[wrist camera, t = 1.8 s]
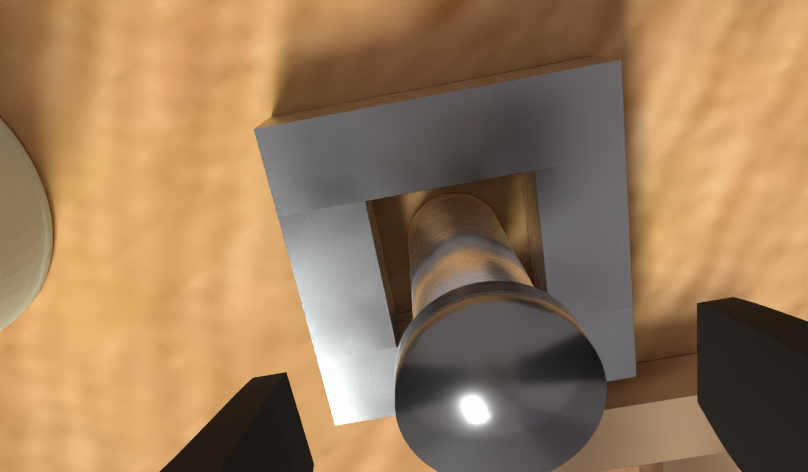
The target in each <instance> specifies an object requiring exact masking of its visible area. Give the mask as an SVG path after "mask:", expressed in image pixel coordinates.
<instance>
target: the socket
mask: <svg viewBox="0 0 808 472" xmlns="http://www.w3.org/2000/svg"><path fill="white" fill-rule="evenodd" d="M606 382H607V398H606V404H605V409H604V412H603V415H602V418H601V421H600V423H599V425H598V427H597V429H596V431H595V432H594V434H593V435H592V437H591V438H590V440H589V441H588V442H587V443H586V445H585V446H584V447H583V448H582V449H581V450H580V451H579V452H578V453H577V454H576V455H575V456H574V457H573V458H571V459H570V460H569V461H567V462H566V463H564V464H563V465H562V466H560V467H558V468H556V469H555V470H553V471H551V472H599V471H606V470H612V469H619V468H625V467H632V466H638V465H639V466H640V472H737V465H736V464H735V462H734V461H733V460H732V458H731V457H730V456H729V454H728V453H727V451H726V450H725V448H724V446H723V445H722V443H721V442H720V440H719V438H718V437H717V435H716V433H715V432H714V430H713V429H712V427H711V425H710V423H709V422H708V420H707V418H706V416H705V415H704V413H703V411H702V409H701V408H700V406H699V404H698V402H697V353H696V354H690V355H684V356H678V357H672V358H666V359H659V360H653V361H647V362H641V363H636V377H631V378H625V379H619V380H613V381H606Z"/></svg>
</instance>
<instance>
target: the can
mask: <svg viewBox="0 0 808 472" xmlns="http://www.w3.org/2000/svg"><path fill="white" fill-rule="evenodd" d="M52 246H53V231H52V219H51V213H50V208H49V203H48V199H47V196H46V193H45V189H44V187H43V185H42V182H41V180H40V177H39V175H38V172H37V170H36V168H35V166H34V164H33V163H32V161H31V159H30V157H29V156H28V154H27V152H26V150H25V149H24V147H23V146H22V145H21V143H20V142H19V140H18V139H17V138H16V136H15V135H14V133H13V132H12V131H11V129H10V128H9V127H8V126H7V125H6V124H5V123H4V121H3V120H2V119H1V118H0V331H1V330H2V329H4V328H5V327H7V326H8V325H10V324H11V323H12V322H14V321H15V320H16V319H17V318H18V317H19V316H20V315H21V314H22V313H23V312H24V311H25V310H26V309H27V308H28V307H29V306H30V304H31V303H32V302H33V300H34V299H35V297H36V296H37V294H38V292H39V291H40V289H41V287H42V285H43V283H44V281H45V278H46V275H47V272H48V269H49V265H50V261H51V256H52Z"/></svg>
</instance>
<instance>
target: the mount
mask: <svg viewBox="0 0 808 472" xmlns="http://www.w3.org/2000/svg"><path fill="white" fill-rule="evenodd" d="M254 131H255V135H256V139H257V142H258V146H259V150H260V153H261V157H262V160H263V164H264V168H265V171H266V175H267V179H268V182H269V186H270V190H271V193H272V197H273V201H274V204H275V208H276V211H277V215H278V219H279V222H280V226H281V230H282V233H283V237H284V241H285V244H286V248H287V252H288V255H289V259H290V262H291V266H292V270H293V273H294V277H295V281H296V284H297V288H298V292H299V295H300V299H301V302H302V306H303V310H304V313H305V317H306V321H307V324H308V328H309V332H310V335H311V339H312V343H313V346H314V350H315V353H316V357H317V361H318V364H319V368H320V372H321V375H322V379H323V383H324V386H325V390H326V393H327V397H328V401H329V404H330V408H331V412H332V415H333V419H334V423H335V425H340V424H347V423H353V422H359V421H365V420H371V419H378V418H384V417H390V416H396V413H395V359H396V353H397V349H398V346H399V343H400V340H401V338H402V336H403V334H404V332H405V330H406V329H407V327H408V326H409V324H410V323H411V321H412V320H413V312H412V311H410V312H404V313H398V314H396V310H395V305H394V301H393V296H392V291H391V286H390V282H389V277H388V272H387V267H386V263H385V258H384V253H383V248H382V244H381V239H380V234H379V230H378V225H377V220H376V215H375V211H374V206H373V201H372V200H373V199H379V198H384V197H390V196H396V195H401V194H407V193H412V192H418V191H423V190H429V189H434V188H440V187H445V186H451V185H456V184H462V183H467V182H473V181H478V180H484V179H490V178H495V177H501V176H506V175H512V174H517V173H521V178H522V187H523V196H524V205H525V213H526V222H527V231H528V240H529V249H530V257H531V266H532V275H533V284H534V287H535V288H538V289H540V290H543V291H544V292H546V293H548V294H550V295H551V296H553V297H555V298H556V299H557V300H558V301H560V302H561V303H562V304H563V305H564V306H565V307H566V308H567V309H568V310H569V311H570V312H571V313H572V314H573V316H574V317H575V318H576V320H577V321H578V323H579V324H580V326H581V328H582V329H583V331H584V332H585V334H586V336H587V337H588V339H589V341H590V342H591V344H592V345H593V347H594V349H595V350H596V352H597V354H598V356H599V358H600V360H601V362H602V365H603V368H604V371H605V375H606V381H613V380H619V379H625V378H631V377H636V359H635V338H634V317H633V296H632V275H631V253H630V232H629V211H628V190H627V169H626V148H625V127H624V105H623V84H622V63H621V60H619V59H612V58H605V57H598V56H591V57H585V58H580V59H575V60H570V61H564V62H559V63H554V64H548V65H543V66H538V67H533V68H527V69H522V70H517V71H512V72H506V73H501V74H496V75H490V76H485V77H480V78H475V79H469V80H464V81H459V82H454V83H448V84H443V85H438V86H432V87H427V88H422V89H417V90H411V91H406V92H401V93H396V94H390V95H385V96H380V97H374V98H369V99H364V100H359V101H353V102H348V103H343V104H338V105H332V106H327V107H322V108H316V109H311V110H306V111H301V112H295V113H290V114H285V115H280V116H274V117H270V118H269V119H267V120H266V121H265V122H263V123H262V124H261V125H259V126H258V127H256V128H255V129H254Z"/></svg>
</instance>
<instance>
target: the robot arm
mask: <svg viewBox="0 0 808 472" xmlns="http://www.w3.org/2000/svg"><path fill="white" fill-rule="evenodd" d="M697 402H698V404H699V406H700V408H701V409H702V411H703V413H704V415H705V416H706V418H707V420H708V422H709V423H710V425H711V427H712V429H713V430H714V432H715V433H716V435H717V437H718V438H719V440H720V442H721V443H722V445H723V446H724V448H725V450H726V451H727V453H728V454H729V456H730V457H731V458H732V460H733V461H734V462H735V464H736V465H737V466H738V468H739V469H740V470H741V471H742V472H808V321H805V320H802V319H799V318H797V317H794V316H791V315H788V314H785V313H783V312H780V311H777V310H774V309H771V308H768V307H765V306H762V305H759V304H756V303H753V302H749V301H746V300H742V299H739V298H735V297H731V298H725V299H720V300H714V301H708V302H702V303H697ZM313 467H314V463H313V459H312V456H311V453H310V449H309V446H308V443H307V439H306V436H305V433H304V429H303V426H302V423H301V420H300V416H299V413H298V410H297V406H296V403H295V400H294V396H293V393H292V390H291V386H290V383H289V380H288V376H287V373H286V372H285V373H279V374H273V375H267V376H261V377H255V378H252V379H251V380H250V381H249V382H248V383H247V384H246V385H245V386H244V387H243V388H242V389H241V390H240V391H239V392H238V393H237V394H236V395H235V396H234V397H233V398H232V399H231V400H230V401H229V402H228V403H227V404H226V405H225V406H224V407H223V408H222V409H221V410H220V411H219V412H218V413H217V414H216V415H215V416H214V417H213V419H212V420H211V421H210V422H209V423H208V424H207V425H206V426H205V427H204V428H203V429H202V430H201V431H200V432H199V433H198V434H197V435H196V436H195V437H194V438H193V439H192V440H191V441H190V442H189V443H188V444H187V445H186V446H185V447H184V448H183V449H182V450H181V451H180V452H179V453H178V454H177V455H176V456H175V457H174V458H173V459H172V460H171V461H170V462H169V463H168V464H167V465H166V466H165V467H164V468H163V469H162V470H161V471H160V472H313Z"/></svg>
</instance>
